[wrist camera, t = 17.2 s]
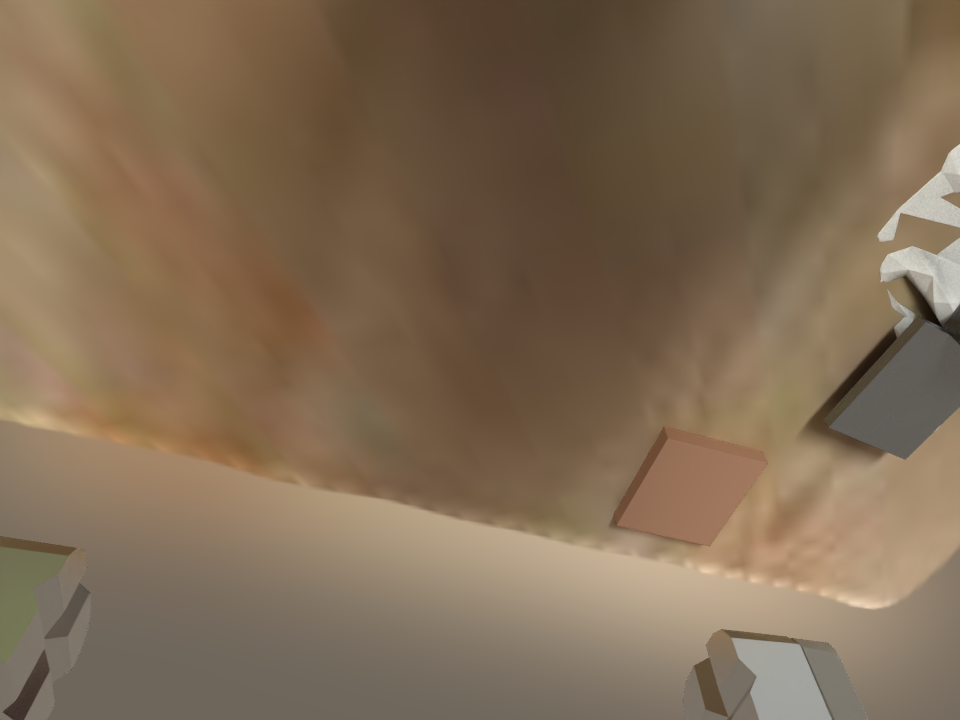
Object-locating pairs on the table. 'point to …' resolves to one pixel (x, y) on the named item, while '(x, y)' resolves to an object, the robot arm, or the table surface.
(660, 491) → the tile
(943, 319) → the cloth
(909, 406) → the turner
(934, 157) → the table surface
